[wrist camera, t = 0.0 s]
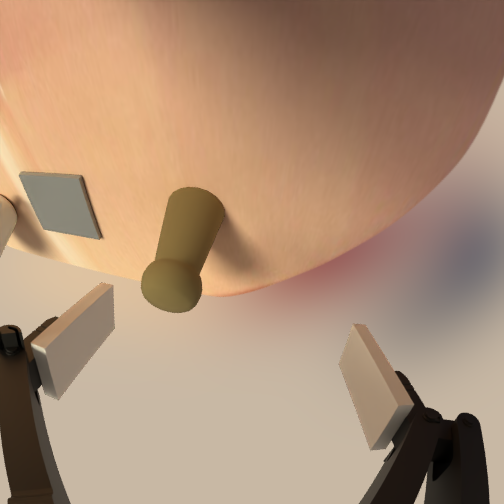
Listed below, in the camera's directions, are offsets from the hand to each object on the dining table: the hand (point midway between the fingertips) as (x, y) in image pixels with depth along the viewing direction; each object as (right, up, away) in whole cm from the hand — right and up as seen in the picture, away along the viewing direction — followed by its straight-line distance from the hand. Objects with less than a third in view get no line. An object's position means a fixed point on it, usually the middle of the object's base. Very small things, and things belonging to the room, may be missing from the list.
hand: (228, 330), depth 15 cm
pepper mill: (-4, +8, +15) cm, 18 cm away
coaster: (-23, +10, +16) cm, 29 cm away
